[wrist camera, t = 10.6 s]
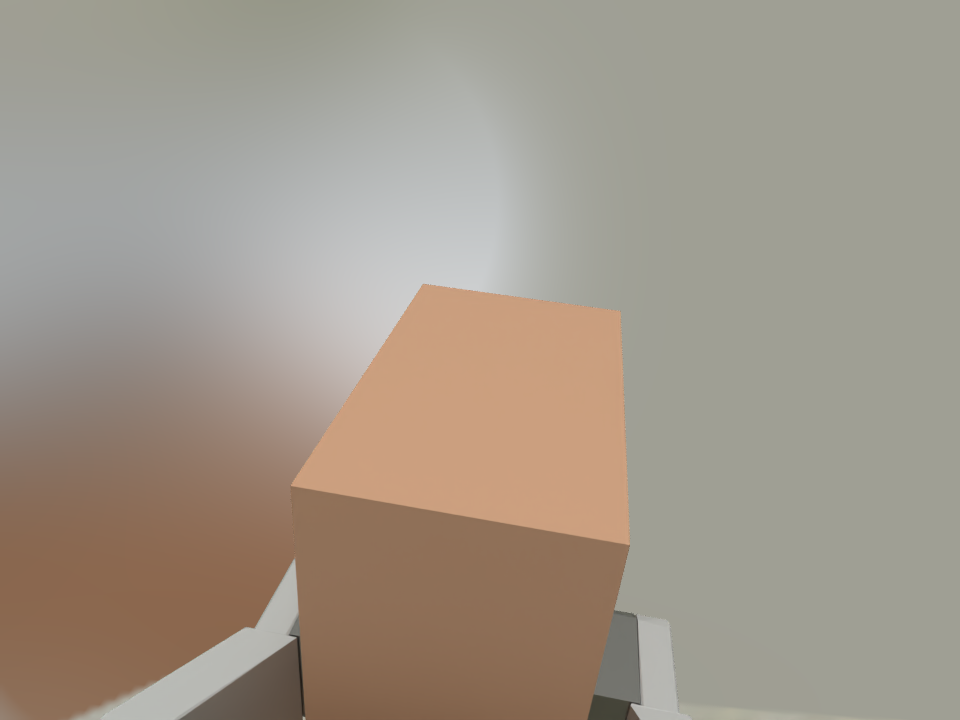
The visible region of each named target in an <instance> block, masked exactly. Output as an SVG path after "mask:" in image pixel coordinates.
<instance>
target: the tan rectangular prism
mask: <svg viewBox="0 0 960 720" xmlns="http://www.w3.org/2000/svg"><path fill="white" fill-rule="evenodd" d="M625 436H626V435H625V412H624V386H623V361H622V336H621V313H620V311H615V310H608V309H600V308H593V307H586V306H579V305H571V304H564V303H557V302H549V301H543V300H535V299H528V298H521V297H513V296H507V295H500V294H492V293H485V292H478V291H471V290H463V289H456V288H448V287H442V286H435V285H427V284H423V285H422V286H421V288H420V290H419V291H418V293H417V294H416V296H415V297H414V299H413V300H412V302H411V303H410V305H409V306H408V308H407V309H406V311H405V312H404V314H403V315H402V317H401V318H400V320H399V321H398V323H397V325H396V326H395V327H394V329H393V331H392V332H391V334H390V335H389V337H388V338H387V340H386V341H385V343H384V344H383V346H382V347H381V349H380V350H379V352H378V354H377V355H376V357H375V358H374V359H373V361H372V362H371V364H370V365H369V367H368V369H367V370H366V372H365V373H364V375H363V376H362V378H361V379H360V381H359V382H358V384H357V385H356V387H355V388H354V390H353V391H352V393H351V394H350V396H349V397H348V399H347V401H346V402H345V403H344V405H343V407H342V408H341V410H340V411H339V413H338V414H337V416H336V417H335V419H334V420H333V422H332V423H331V425H330V427H329V428H328V429H327V431H326V433H325V434H324V435H323V437H322V438H321V440H320V441H319V443H318V445H317V446H316V448H315V449H314V451H313V452H312V454H311V455H310V457H309V458H308V460H307V461H306V463H305V464H304V466H303V468H302V469H301V470H300V472H299V474H298V475H297V477H296V478H295V479H294V481H293V483H292V484H291V486H290V487H291V502H292V518H293V534H294V548H295V565H296V580H297V595H298V611H299V626H300V642H301V657H302V672H303V688H304V703H305V718H306V720H587V719H588V715H589V711H590V707H591V703H592V699H593V695H594V690H595V686H596V682H597V678H598V674H599V670H600V666H601V662H602V658H603V654H604V649H605V645H606V641H607V637H608V633H609V629H610V625H611V621H612V617H613V613H614V608H615V604H616V600H617V596H618V592H619V588H620V583H621V579H622V575H623V572H624V568H625V563H626V559H627V555H628V551H629V547H630V536H629V535H630V533H629V509H628V485H627V462H626V461H627V459H626V437H625Z"/></svg>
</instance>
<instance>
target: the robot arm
mask: <svg viewBox="0 0 960 720" xmlns="http://www.w3.org/2000/svg"><path fill="white" fill-rule="evenodd" d="M670 627H671V626H670V624H669V622H668V620H665V619H660V618H654V617H648V616H642V615H637V614H636V615H634V614H632V613H627V612H621V611H615V610H614V613H613V617H612V621H611V625H610V629H609V633H608V637H607V641H606V645H605V649H604V654H603V658H602V662H601V666H600V670H599V674H598V678H597V682H596V686H595V690H594V695H593V699H592V703H591V707H590V711H589V715H588V719H587V720H692V718H691V717H690V715H686V714H682V713H679V703H678V694H677V685H676V675H675V665H674V655H673V646H672V636H671V628H670ZM302 716H303V717H305V703H304V688H303V672H302V657H301V642H300V626H299V611H298V595H297V580H296V565H295V559H294V560H293V562H292V564H291V565H290V567H289V569H288V571H287V572H286V574H285V576H284V578H283V580H282V581H281V583H280V585H279V586H278V588H277V590H276V592H275V593H274V595H273V597H272V599H271V600H270V602H269V604H268V606H267V608H266V610H265V611H264V613H263V614H262V616H261V618H260V620H259V621H258V623H257V625H256V627H255V628H248V627H245V628H244V629H242V630H240V631H239V632H237V633H235V634H234V635H232V636H231V637H229V638H227V639H226V640H224V641H223V642H221V643H219V644H218V645H216V646H214V647H213V648H211V649H210V650H208V651H206V652H205V653H203V654H202V655H200V656H198V657H197V658H195V659H193V660H192V661H190V662H189V663H187V664H185V665H184V666H182V667H180V668H179V669H177V670H176V671H174V672H172V673H171V674H169V675H168V676H166V677H164V678H163V679H161V680H159V681H158V682H156V683H155V684H153V685H151V686H150V687H148V688H146V689H145V690H143V691H142V692H140V693H138V694H137V695H135V696H134V697H132V698H130V699H129V700H127V701H125V702H124V703H122V704H121V705H119V706H117V707H116V708H114V709H112V710H111V711H109V712H108V713H106V714H104V715H103V716H102V718H101V719H100V720H303V717H302Z"/></svg>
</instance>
